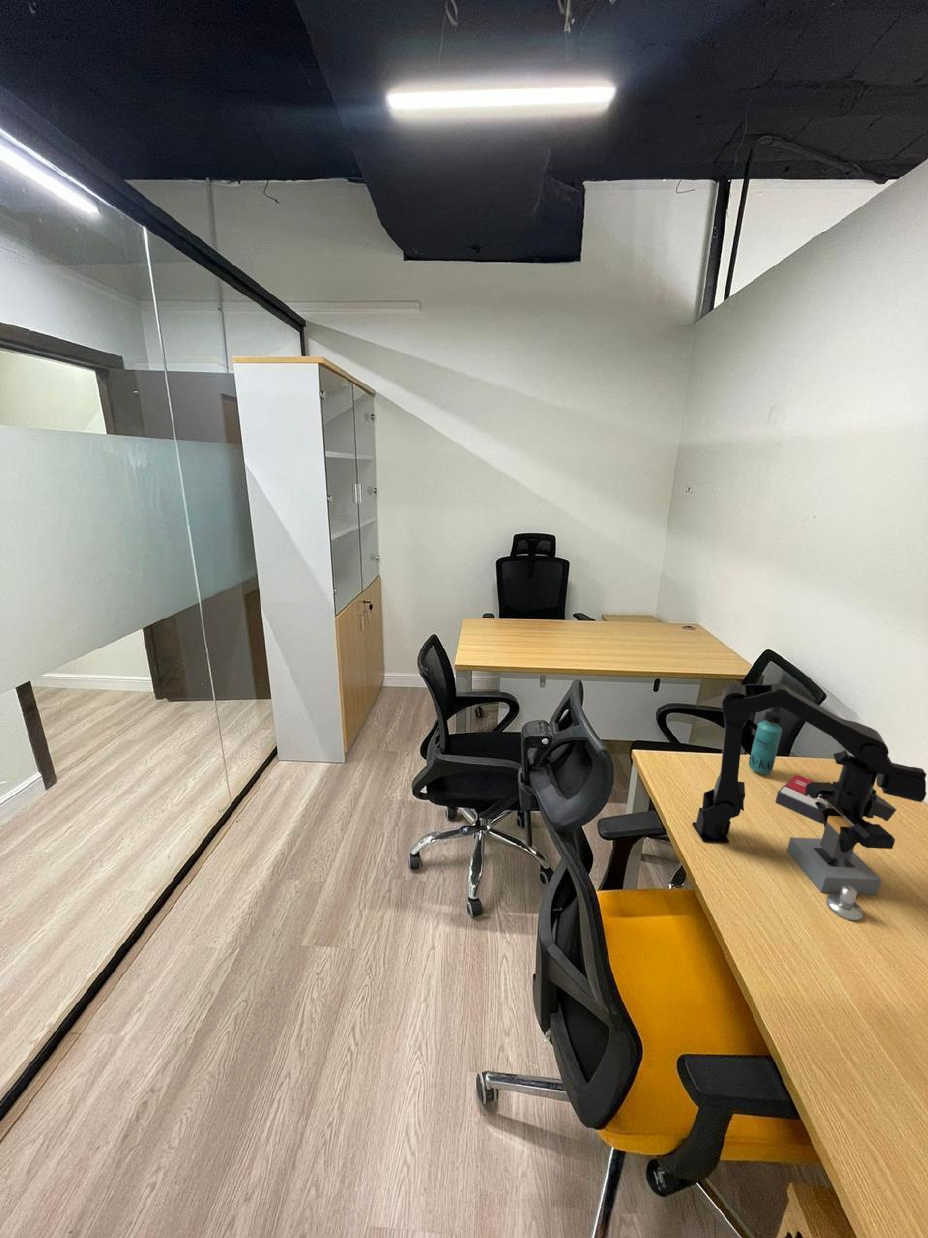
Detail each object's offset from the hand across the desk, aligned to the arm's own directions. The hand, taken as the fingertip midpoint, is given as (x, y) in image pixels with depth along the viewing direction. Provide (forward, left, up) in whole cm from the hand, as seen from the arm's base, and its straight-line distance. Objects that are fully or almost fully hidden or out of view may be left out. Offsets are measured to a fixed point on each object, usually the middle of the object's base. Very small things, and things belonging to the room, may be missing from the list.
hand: (836, 844), depth 108 cm
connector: (0, 0, -2) cm, 2 cm away
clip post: (-4, -10, -8) cm, 13 cm away
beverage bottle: (+6, +39, -8) cm, 40 cm away
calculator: (+12, +25, -8) cm, 29 cm away
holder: (0, 0, -8) cm, 8 cm away
